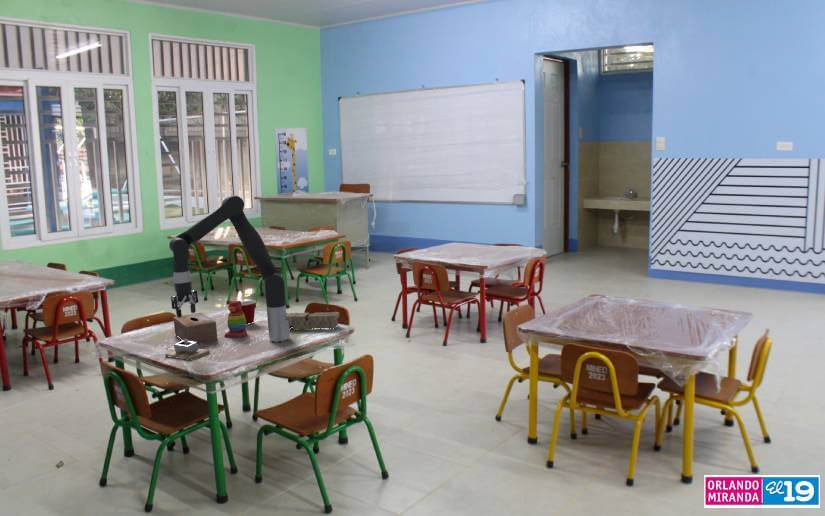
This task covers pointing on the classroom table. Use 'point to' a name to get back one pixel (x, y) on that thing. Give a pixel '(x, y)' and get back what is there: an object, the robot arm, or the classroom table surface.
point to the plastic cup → (248, 310)
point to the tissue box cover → (196, 328)
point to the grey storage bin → (186, 347)
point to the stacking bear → (236, 320)
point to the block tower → (312, 320)
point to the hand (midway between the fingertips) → (186, 314)
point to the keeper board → (186, 356)
